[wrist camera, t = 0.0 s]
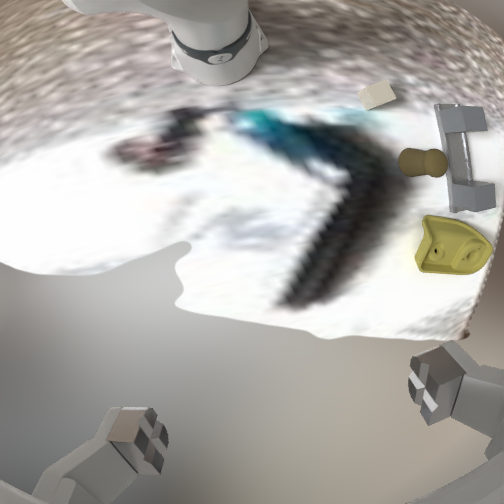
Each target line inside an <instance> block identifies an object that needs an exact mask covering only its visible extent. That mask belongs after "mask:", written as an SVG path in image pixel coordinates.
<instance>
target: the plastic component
mask: <svg viewBox="0 0 504 504" xmlns="http://www.w3.org/2000/svg"><path fill="white" fill-rule="evenodd" d="M422 225H423V228H424V237H423V240H422V242H421V244H420V246H419V248H418V251H417V253H416V255H415V261H416V263H417V266H418V268H419V270H420V271H421V272H424V273H439V274H454V275H469V274H473V273H475V272H477V271H479V270H480V269H481V268H482V267H483V266H484V265H485V264H486V262H487V261H488V259H489V257H490V255H491V254H492V252H493V246H492V245H491V243H490V242H489V241H488V240H487V239H486V238H485V237H484V236H483V235H482V234H480V233H479V232H478V231H477V230H475V229H474V228H472V227H471V226H469V225H467V224H465V223H463V222H461V221H458V220H454V219H449V218H443V217H437V216H431V215H426V216H425V217H424V218H423V221H422ZM435 249H437V253H435Z"/></svg>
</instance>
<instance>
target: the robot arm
mask: <svg viewBox="0 0 504 504" xmlns="http://www.w3.org/2000/svg"><path fill="white" fill-rule="evenodd" d="M62 1H63V2H64V3H65V4H66V5H67V6H68V7H69V8H71V9H73V10H74V11H76V12H79V13H82V14H85V15H96V14H102V13H110V12H133V13H140V14H145V15H149V16H153V17H156V18H159V19H162V20H164V21H165V22H166V23H167V24H168V27H169V31H170V32H171V33H172V37H171V38H170V43H171V44H172V48H171V66H172V68H173V69H174V70H176V71H179V72H184V73H186V74H188V75H189V76H191V77H192V78H193V79H195V80H196V81H198V82H200V83H203V84H206V85H212V86H222V85H228V84H231V83H234V82H236V81H238V80H240V79H242V78H243V77H245V76H246V75H247V74H248V73H249V72H250V71H251V70H252V69H253V67H254V65H255V63H256V61H257V59H258V57H259V56H260V55H261V54H262V53H263V52H264V51H266V50H267V48H268V47H269V42H268V40H267V38H266V37H265V35H264V33H263V31H262V30H261V28H260V26H259V25H258V23H257V21H256V20H255V18H254V17H253V15H252V13H251V12H250V10H249V8H248V0H62ZM261 39H262V40H261ZM410 367H411V369H412V370H413V371H412V373H411V374H410V376H409V380H408V387H409V393H410V395H411V398H412V399H413V401H414V403H416V404H418V405H421V410H420V413H421V415H422V416H423V418H424V419H425V421H426V423H427V425H428V426H429V425H432V424H434V423H436V422H439V421H441V420H443V419H445V418H448V417H450V416H451V417H452V418H453V419H455V420H457V421H459V422H461V423H463V424H465V425H467V426H469V427H471V428H473V429H475V430H477V431H479V432H481V433H483V434H485V435H487V436H489V437H491V438H492V440H491V441H490V443H489V445H488V447H487V448H486V450H485V453H484V454H485V455H486V457H487V459H488V461H487V462H485V463H484V464H482V465H481V466H479V467H477V468H476V469H474V470H472V471H471V472H469V473H467V474H466V475H464V476H462V477H460V478H459V479H457V480H455V481H453V482H451V483H449V484H447V485H445V486H443V487H441V488H439V489H437V490H435V491H433V492H431V493H429V494H427V495H425V496H422V497H421V498H418V499H415V500H413V501H411V502H408V503H406V504H504V370H502V369H498V368H494V367H490V366H487V365H482V366H479V365H478V364H477V363H476V362H475V361H474V360H473V359H472V358H471V357H470V356H469V355H468V354H467V353H466V352H465V351H464V350H463V349H462V348H461V347H460V346H459V345H458V344H457V343H456V342H455V341H453V340H450V341H448V342H446V343H444V344H441V345H439V346H437V347H435V348H432V349H430V350H428V351H425V352H422V353H420V354H417V355H415V356H413V357H412V358H411V362H410ZM156 419H157V414H156V412H155V411H154V409H153V408H149V407H142V408H141V407H111V408H110V409H109V410H108V412H107V414H106V416H105V418H104V420H103V422H102V424H101V425H100V427H99V429H98V431H97V433H96V435H95V437H94V439H93V440H88V441H87V442H85V443H84V444H82V445H81V446H80V447H78V448H77V449H75V450H74V451H72V452H71V453H69V454H68V455H66V456H65V457H64V458H62V459H61V460H59V461H58V462H56V463H55V464H53V465H52V466H50V467H48V468H47V469H45V470H44V472H43V474H42V476H41V478H40V480H39V482H38V484H37V486H36V487H35V489H34V491H33V493H32V495H29V494H27V493H25V492H23V491H21V490H19V489H17V488H15V487H13V486H11V485H9V484H7V483H5V482H3V481H2V480H0V504H111V503H112V501H113V500H114V499H115V498H116V497H117V496H118V495H119V494H120V493H121V492H122V491H123V490H124V489H125V488H126V487H127V486H128V485H129V484H130V483H131V482H132V481H133V480H134V479H135V478H136V477H137V476H138V474H156V475H160V474H161V471H162V467H163V463H164V458H163V456H162V453H164V452H165V451H166V450H167V447H168V443H169V441H168V433H167V430H166V428H165V426H164V425H163V424H162V423H160V422H159V421H157V420H156ZM137 473H138V474H137Z"/></svg>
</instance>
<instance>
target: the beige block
mask: <svg viewBox="0 0 504 504" xmlns="http://www.w3.org/2000/svg"><path fill="white" fill-rule="evenodd" d="M357 94H358V96H359V98H360V100H361V101H362V103H363V105H364V107H365V109H366V111H367V110H370V109H372V108H375V107H377V106H380V105H382V104H385V103H387V102H390V101H392V100H394V99H397V98H396V96H395V94H394V93H393V91H392V89H391V87H390V85H389V83H388V81H387V80H384V81H381V82H378V83H375V84H373V85H370V86H367V87H365V88H364V89H362V90H361V91H359V92H357Z"/></svg>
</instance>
